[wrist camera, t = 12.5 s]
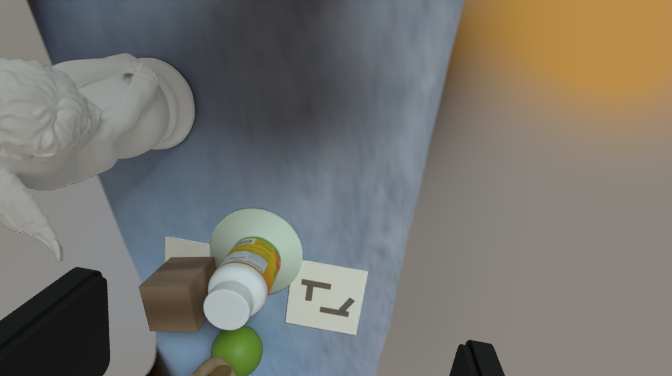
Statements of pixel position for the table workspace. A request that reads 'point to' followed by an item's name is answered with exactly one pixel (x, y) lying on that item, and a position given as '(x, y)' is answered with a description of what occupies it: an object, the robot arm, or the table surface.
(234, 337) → the snail figurine
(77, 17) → the table surface
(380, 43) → the table surface
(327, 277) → the code tile
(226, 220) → the felt coaster
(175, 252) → the code tile
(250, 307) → the supplement bottle
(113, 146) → the cherub figurine
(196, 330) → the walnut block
